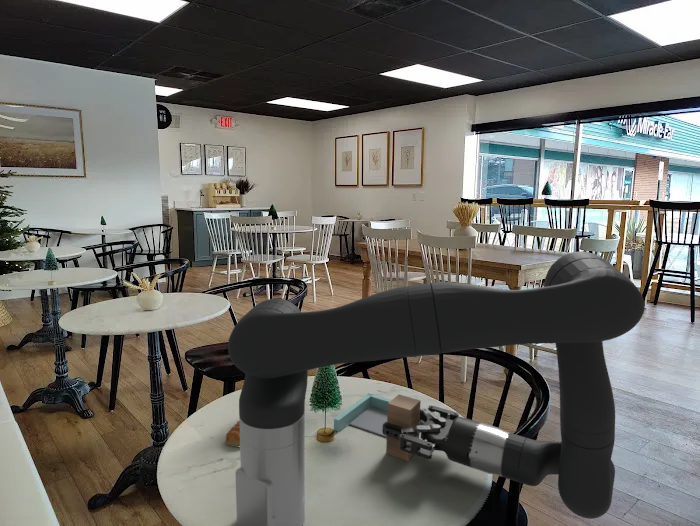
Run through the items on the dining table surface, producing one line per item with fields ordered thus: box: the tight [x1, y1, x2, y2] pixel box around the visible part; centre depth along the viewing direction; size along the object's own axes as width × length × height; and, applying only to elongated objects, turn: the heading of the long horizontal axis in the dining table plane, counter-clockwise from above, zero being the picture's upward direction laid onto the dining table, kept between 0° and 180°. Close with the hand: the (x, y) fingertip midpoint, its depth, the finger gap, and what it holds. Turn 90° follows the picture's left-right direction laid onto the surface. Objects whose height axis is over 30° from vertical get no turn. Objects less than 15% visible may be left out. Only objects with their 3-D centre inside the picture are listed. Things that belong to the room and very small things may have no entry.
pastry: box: [225, 421, 240, 448], centre depth 92 cm, size 9×7×4 cm
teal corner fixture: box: [333, 392, 440, 439], centre depth 96 cm, size 14×17×2 cm
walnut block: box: [385, 394, 422, 462], centre depth 87 cm, size 4×4×10 cm
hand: (393, 418), depth 88 cm, fingers open, 7 cm apart
